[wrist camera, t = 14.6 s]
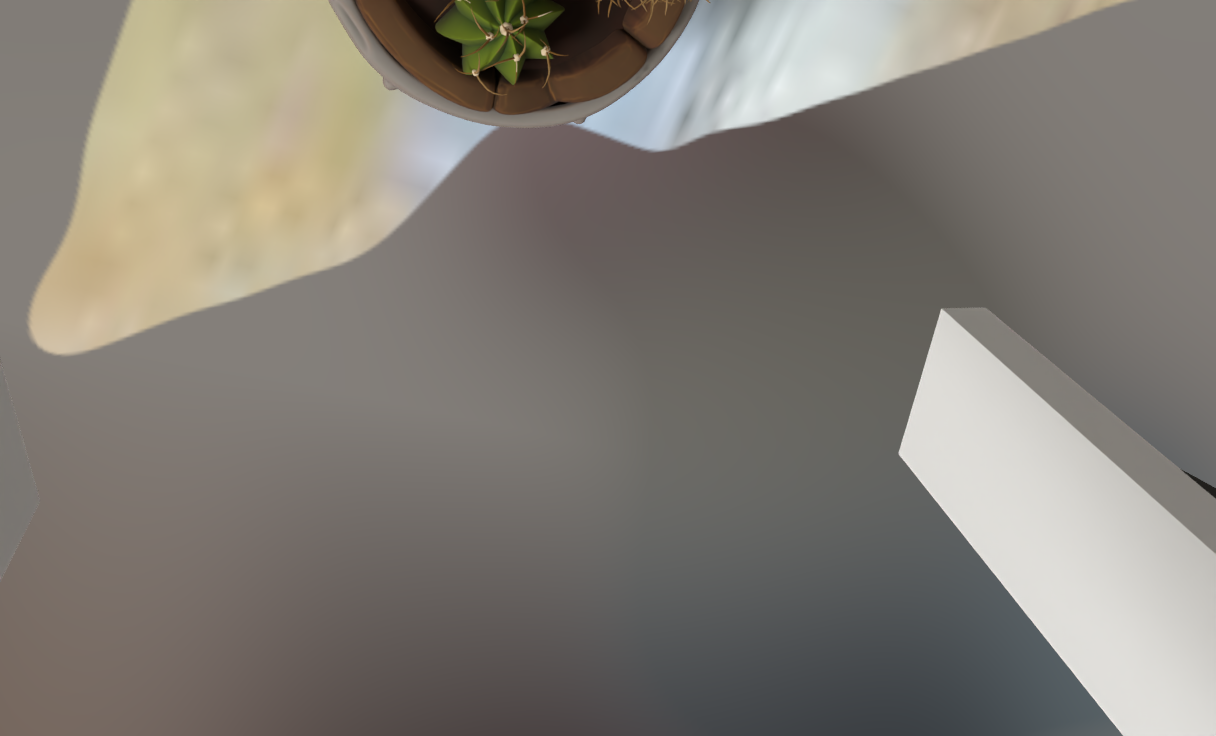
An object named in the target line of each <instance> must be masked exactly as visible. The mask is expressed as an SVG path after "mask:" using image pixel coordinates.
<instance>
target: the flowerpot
mask: <svg viewBox="0 0 1216 736" xmlns="http://www.w3.org/2000/svg"><path fill="white" fill-rule="evenodd" d="M706 1H708V0H706ZM698 2H699V0H329V3H330V4H331V6H332V8H333V10H334V12H335V13H336V15H337V17H338V19H339V20H340V22H341V24H342V25H343V27H344V29H345V30H346V32H347V34H348V35H349V37H350V38H351V40H352V41H353V43H354V45H355V46H356V48H357V49H358V50H359V52H360V53H361V54H362V56H363V57H364V58H365V59H366V60H367V62H368V63H369V64H370V65H371V66H372V67H373V68H374V69H375V70H376V71H377V72H378V73H379V74H380V75H381V76H383V84H384V86H385V87H386V88H387V89H388V90H395V89H399V90H400V91H402V92H403V93H405V94H407V95H408V96H410V97H412V98H414V99H416V100H418V101H420V102H422V103H424V104H426V105H428V106H430V107H433V108H435V109H437V110H440V111H442V112H445V113H448V114H450V115H453V116H456V117H459V118H462V119H466V120H469V121H472V122H477V123H481V124H485V125H492V126H499V127H512V128H538V127H550V126H557V125H562V124H567V123H570V122H574V123H576V124H582V123H583V122H584V121H585V119H586V117H588V116H590V115H592V114H595V113H597V112H599V111H601V110H602V109H604V108H606V107H608V106H609V105H611V104H612V103H614V102H615V101H617V100H618V99H620V98H621V97H622V96H624V95H625V94H626V93H628V92H629V91H630V90H631V89H633V88H634V87H635V86H636V85H638V84H639V83H640V82H641V81H642V80H643V79H644V78H645V77H646V76H647V75H649V74H650V72H651V71H652V70H653V69H654V68H655V67H656V66H657V65H658V64H659V63H660V62H661V61H662V60H663V58H664V57H665V56H666V55H667V53H668V52H669V51H670V50H671V48H672V47H673V46H674V44H675V43H676V41H677V40H678V38H679V37H680V36H681V34H682V32H683V31H684V29H685V27H686V26H687V24H688V22H689V21H690V19H691V17H692V15H693V13H694V11H695V9H696V7H697V4H698ZM708 2H709V1H708ZM709 3H710V2H709Z"/></svg>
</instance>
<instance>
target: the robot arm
mask: <svg viewBox="0 0 1216 736" xmlns="http://www.w3.org/2000/svg"><path fill="white" fill-rule="evenodd" d="M899 455H900V456H901V457H902V459H903V460H904V461H905V462H906V464H907V465H908V466H909V468H910V469H911V470H912V471H913V473H914V474H915V475H916V476H917V477H918V479H919V480H920V481H921V483H922V484H923V485H924V486H925V487H926V489H927V490H928V491H929V493H930V494H931V495H932V496H933V498H934V499H935V500H936V501H937V503H938V504H939V505H940V506H941V508H942V509H943V510H944V511H945V513H946V514H947V515H948V516H949V518H950V519H951V520H952V521H953V523H954V524H955V525H956V526H957V528H958V529H959V530H960V531H961V533H962V534H963V535H964V536H965V537H966V539H967V540H968V541H969V543H970V544H971V545H972V547H973V548H974V549H975V550H976V552H977V553H978V554H979V555H980V556H981V558H982V559H983V560H984V562H985V563H986V564H987V565H988V567H989V568H990V569H991V570H992V572H993V573H994V574H995V575H996V577H997V578H998V579H999V580H1000V581H1001V583H1002V584H1003V585H1004V587H1005V588H1006V589H1007V590H1008V592H1009V593H1010V594H1011V595H1012V597H1013V598H1014V599H1015V600H1016V602H1017V603H1018V604H1019V606H1020V607H1021V608H1022V609H1023V611H1024V612H1025V613H1026V614H1027V616H1028V617H1029V618H1030V619H1031V620H1032V622H1033V623H1034V624H1035V626H1036V627H1037V628H1038V629H1039V631H1040V632H1041V633H1042V634H1043V636H1044V637H1045V638H1046V639H1047V641H1048V642H1049V643H1050V644H1051V646H1052V647H1053V648H1054V649H1055V651H1056V652H1057V653H1058V654H1059V656H1060V657H1061V658H1062V659H1063V661H1064V662H1065V663H1066V664H1067V666H1068V667H1069V668H1070V669H1071V671H1072V672H1073V673H1074V674H1075V676H1076V677H1077V678H1078V679H1079V681H1080V682H1081V683H1082V685H1083V686H1084V687H1085V688H1086V690H1087V691H1088V692H1089V693H1090V695H1091V696H1092V697H1093V698H1094V700H1095V701H1096V702H1097V703H1098V705H1099V706H1100V707H1101V708H1102V710H1103V711H1104V712H1105V713H1106V714H1107V716H1108V717H1109V718H1110V720H1111V721H1112V722H1113V723H1114V725H1115V726H1116V727H1117V728H1118V729H1119V731H1120V732H1121V733H1122V735H1123V736H1216V488H1214V487H1212V486H1211V485H1209V484H1207V483H1205V482H1203V481H1201V480H1200V479H1198V478H1196V477H1194V476H1192V475H1190V474H1189V473H1187V472H1185V471H1183V470H1181V469H1179V468H1178V467H1177V466H1176V465H1175V464H1173V463H1172V462H1171V461H1170V460H1169V459H1167V458H1166V457H1165V456H1164V455H1162V454H1161V453H1160V452H1159V451H1158V450H1156V449H1155V448H1154V447H1153V446H1152V445H1150V444H1149V443H1148V442H1147V441H1146V440H1144V439H1143V438H1142V437H1141V436H1140V435H1138V434H1137V433H1136V432H1135V431H1134V430H1132V429H1131V428H1130V427H1129V426H1128V425H1126V424H1125V423H1124V422H1123V421H1122V420H1120V419H1119V418H1118V417H1117V416H1115V415H1114V414H1113V413H1112V412H1111V411H1109V410H1108V409H1107V408H1106V407H1105V406H1103V405H1102V404H1101V403H1100V402H1099V401H1097V400H1096V399H1095V398H1094V397H1093V396H1091V395H1090V394H1089V393H1088V392H1087V391H1085V390H1084V389H1083V388H1082V387H1080V386H1079V385H1078V384H1077V383H1076V382H1075V381H1073V380H1072V379H1071V378H1070V377H1068V376H1067V375H1066V374H1065V373H1063V372H1062V371H1061V370H1060V369H1059V368H1058V367H1056V366H1055V365H1054V364H1053V363H1052V362H1050V361H1049V360H1048V359H1047V358H1046V357H1044V356H1043V355H1042V354H1041V353H1040V352H1038V351H1037V350H1036V349H1035V348H1033V347H1032V346H1031V345H1030V344H1029V343H1028V342H1026V341H1025V340H1024V339H1023V338H1021V337H1020V336H1019V335H1018V334H1016V333H1015V332H1014V331H1013V330H1012V329H1011V328H1009V327H1008V326H1007V325H1006V324H1005V323H1003V322H1002V321H1001V320H1000V319H998V318H997V317H996V316H995V315H994V314H993V313H991V312H990V311H989V310H988V309H987V308H942V309H941V312H940V316H939V319H938V322H937V326H936V329H935V333H934V336H933V339H932V343H931V346H930V350H929V353H928V356H927V360H926V363H925V367H924V370H923V373H922V376H921V380H920V383H919V386H918V390H917V393H916V397H915V400H914V403H913V407H912V410H911V413H910V417H909V420H908V424H907V427H906V430H905V434H904V437H903V440H902V444H901V448H900V451H899ZM39 502H40V499H39V495H38V491H37V488H36V484H35V481H34V477H33V474H32V470H31V466H30V463H29V459H28V456H27V452H26V449H25V445H24V442H23V438H22V434H21V431H20V427H19V423H18V420H17V416H16V413H15V409H14V406H13V402H12V399H11V395H10V391H9V388H8V384H7V381H6V377H5V374H4V370H3V366H2V363H1V359H0V581H1V579H2V577H3V575H4V573H5V571H6V569H7V567H8V565H9V563H10V560H11V559H12V557H13V555H14V553H15V551H16V548H17V547H18V545H19V543H20V541H21V538H22V537H23V535H24V533H25V531H26V529H27V527H28V525H29V523H30V521H31V518H32V516H33V514H34V512H35V510H36V508H37V506H38V504H39Z"/></svg>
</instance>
